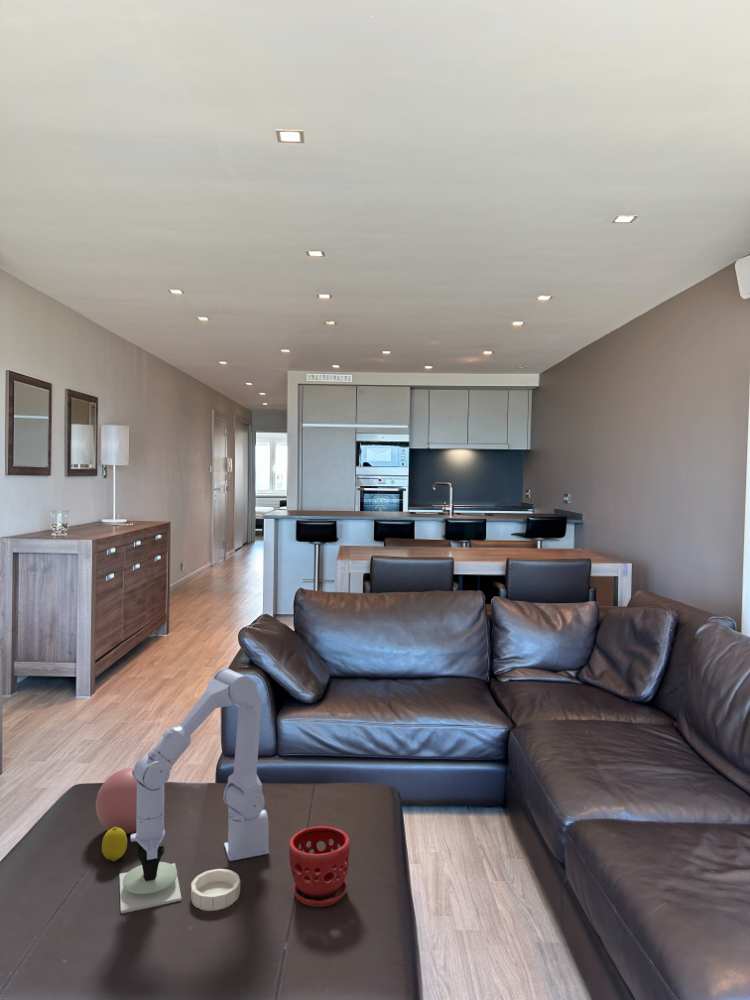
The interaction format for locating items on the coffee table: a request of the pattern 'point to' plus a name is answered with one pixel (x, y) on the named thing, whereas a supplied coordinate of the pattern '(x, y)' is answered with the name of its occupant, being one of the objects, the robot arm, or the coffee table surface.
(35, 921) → the coffee table surface
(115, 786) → the balloon
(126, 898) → the mat
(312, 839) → the plant pot
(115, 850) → the lemon
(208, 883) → the dish
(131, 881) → the lid
